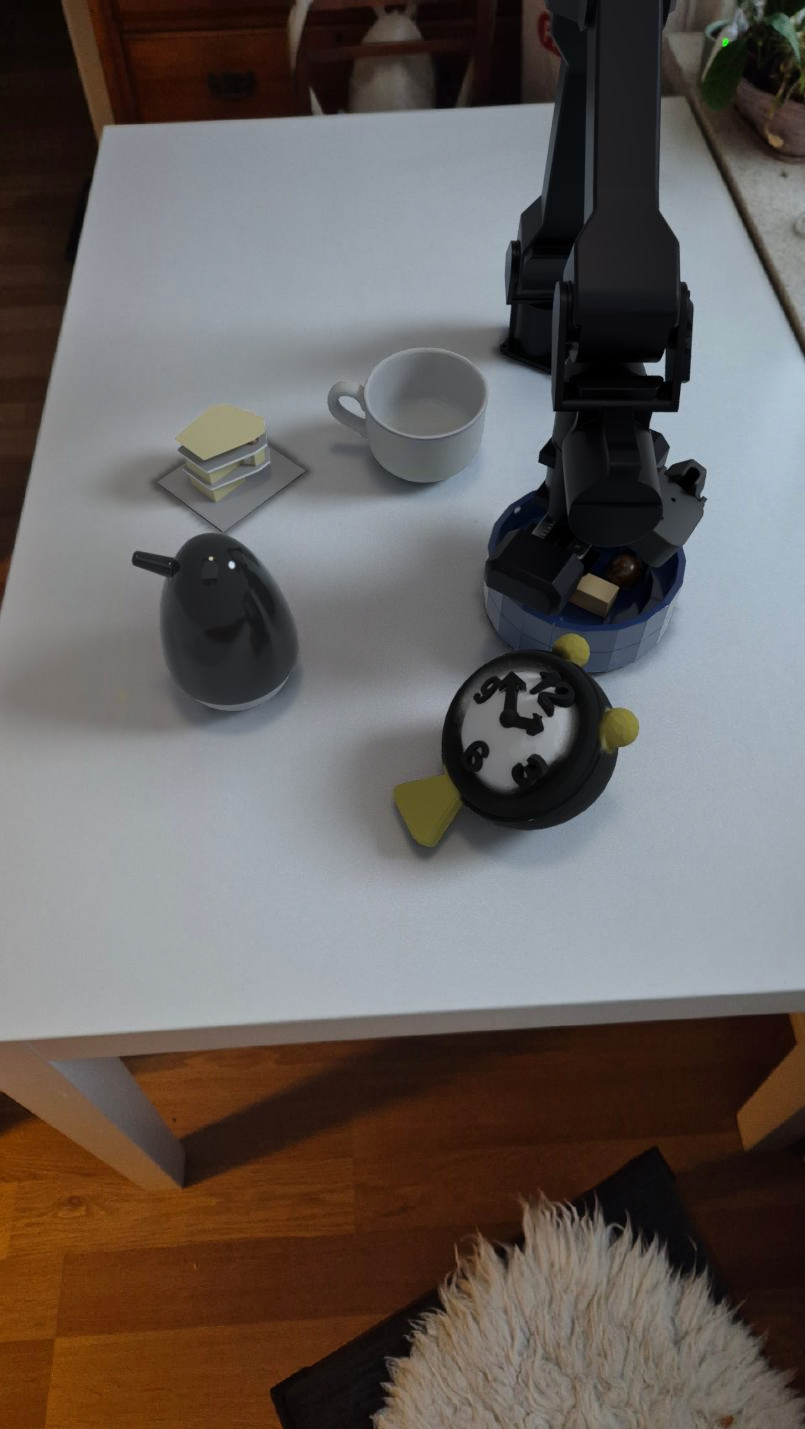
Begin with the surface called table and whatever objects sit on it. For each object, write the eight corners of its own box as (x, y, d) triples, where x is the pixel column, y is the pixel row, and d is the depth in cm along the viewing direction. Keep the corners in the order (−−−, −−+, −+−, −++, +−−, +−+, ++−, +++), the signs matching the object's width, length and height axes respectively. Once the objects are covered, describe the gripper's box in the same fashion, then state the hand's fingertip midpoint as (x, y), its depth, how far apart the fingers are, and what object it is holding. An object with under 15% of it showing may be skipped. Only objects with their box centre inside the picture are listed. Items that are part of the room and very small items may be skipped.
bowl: (449, 623, 82) (451, 576, 77) (539, 508, 89) (547, 457, 84) (617, 708, 78) (631, 663, 73) (698, 579, 85) (717, 530, 79)
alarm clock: (426, 750, 80) (467, 584, 72) (602, 815, 78) (666, 650, 69) (373, 836, 71) (413, 656, 62) (571, 913, 68) (641, 736, 60)
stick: (517, 578, 84) (519, 562, 82) (529, 562, 85) (531, 546, 83) (604, 618, 82) (608, 603, 80) (615, 602, 82) (619, 586, 81)
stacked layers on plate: (223, 532, 88) (213, 486, 83) (157, 482, 91) (143, 436, 86) (305, 471, 92) (299, 424, 87) (238, 425, 95) (229, 378, 90)
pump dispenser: (182, 623, 83) (139, 489, 70) (308, 625, 82) (289, 492, 69) (162, 729, 77) (112, 605, 64) (298, 732, 77) (274, 608, 64)
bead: (595, 573, 81) (628, 590, 80) (615, 542, 81) (648, 559, 80) (598, 585, 84) (630, 602, 83) (618, 555, 84) (649, 572, 83)
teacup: (497, 432, 94) (504, 361, 87) (463, 513, 89) (467, 444, 82) (358, 400, 97) (353, 329, 90) (316, 477, 91) (308, 407, 85)
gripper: (641, 572, 63) (602, 707, 76) (758, 399, 71) (704, 548, 84) (486, 502, 66) (474, 643, 79) (615, 344, 74) (585, 496, 87)
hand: (565, 581), depth 82 cm, fingers closed on stick, 2 cm apart
